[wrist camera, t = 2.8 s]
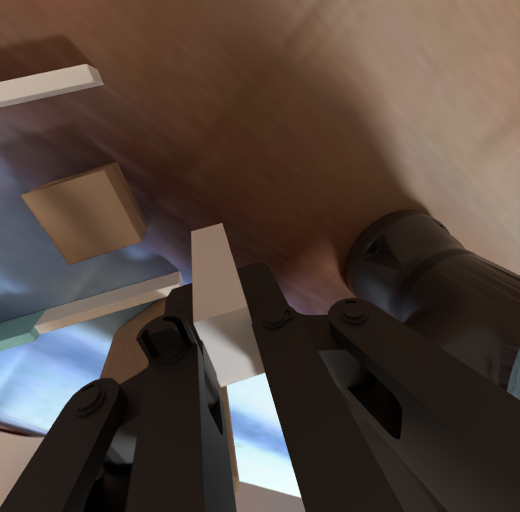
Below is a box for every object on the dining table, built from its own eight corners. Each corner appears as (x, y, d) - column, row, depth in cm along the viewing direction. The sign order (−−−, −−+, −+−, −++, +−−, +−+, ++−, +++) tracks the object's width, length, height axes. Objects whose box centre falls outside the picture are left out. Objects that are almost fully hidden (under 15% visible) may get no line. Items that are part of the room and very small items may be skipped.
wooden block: (112, 329, 36) (41, 527, 19) (173, 285, 35) (157, 451, 18) (167, 368, 41) (149, 554, 24) (221, 330, 40) (246, 495, 23)
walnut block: (117, 161, 28) (103, 170, 24) (147, 223, 32) (141, 241, 27) (47, 182, 28) (20, 195, 23) (86, 243, 31) (69, 265, 27)
